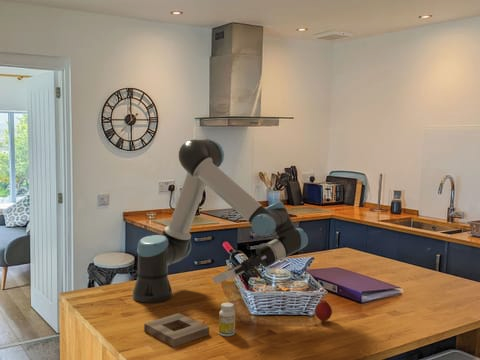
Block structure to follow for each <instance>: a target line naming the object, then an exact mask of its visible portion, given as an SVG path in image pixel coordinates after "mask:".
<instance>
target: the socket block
mask: <svg viewBox="0 0 480 360" xmlns="http://www.w3.org/2000/svg"><path fill="white" fill-rule="evenodd" d="M143 324H144V325H143V326H144V327H143V331H144V332H145V333H147V334H149V335H151V336H153V337H154V338H157V339H159V340H160V341H162V342H164V343H166V344H168V345H170V346H171V347H174V348H175V347H178V346H182V345H184V344H187V343H190V342H192V341H194V340H198V339H201V338H202V337H206V336H209V335H210V326H208V325H205V324H203V323H201V322H200V321H197V320H194V319H192V318H190V317H188V316H187V315H184V314H182V313H180V312H178V313H174V314H172V315H169V316H164V317H162V318H158V319H154V320H152V321H148V322H144V323H143ZM175 328H176V329H177V328H180V329H178V330H175V331H174V330H172V329H175Z"/></svg>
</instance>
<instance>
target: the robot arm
mask: <svg viewBox="0 0 480 360" xmlns="http://www.w3.org/2000/svg"><path fill="white" fill-rule="evenodd" d="M224 152H225V151H224V150H223V147H222V146H221V144H220V143H218V141H215V140H212V139H209V138H207V139H206V138H205V139H189V140H187V141H185V142H184V143H182V145H181V147H180V148H179V151H178V161H179V163H180V165H181V167H182V168H183V169H184V171H186V175H185V178H184V181H183V185H182V187H181V190H180V193H179V196H178V199H177V202H176V205H175V208H174V211H173V213H172V216H171V219H170V222H169V224H168V225H166V226H165V227H164V228H163V231H162V234H151V235H146V236H144V237H142V238H140V239H139V241H138V242H137V249H136V252H137V279H136V281H135V284H134V288H133V290H132V299H133V300H134V301H136V302H139V303H147V304H148V303H149V304H154V303H161V302H165V301H168V300H170V299H171V298H172V296H173V290H172V286H171V283H170V280H169V277H168V272H169V270H168V269H169V268H168V267H169V266H170V265H172V264H175V263H178V262H180V261H183V260H184V259H185V258H187V257H188V256H189V255H190V253H191V250H192V242H191V238H192V234H191V233H190V230H191V227H192V224H193V221H194V219H195V216H196V212H197V210H198V208H199V205H200V202H201V200H202V196H203V194H204V191H205V188H206V186H207V187H208V188H209V189H210V190H212V191H213V192H214V193H215V194H216V195H218V197H220V198H221V199H222V200H223V201H224V202H225V203H226V204H227V205H229V206H230V208H232V209H233V210H235V212H237V213H238V214H239V215H240V216H241V217H242V218H243V219H244V220H245V221H247V222H248V223H249V224H250V226H251V229H252V231H253V233H254V234H255V235H256V236H259V237H266V236H269V235H272V234H275V235H276V238H274V239H272V240H271V241H268V242H267V243H265V244H263V245H261V246H259V247H257V248H256V249H255V254H254V255H252V256H249V257H248V258H247V259H245V260H243V261H241V262H240V263H239V264H236V265H235V266H233V267H231V268H228V269H226V270H225V271H222V272H221V273H218V274H217V275H214V276H213V277H212V281H213V283H214V285H218V284H219V283H221V282H224V281H230V280H231V279H232V280H233V278H236V277H237V276H240V275H241V274H243V273H245V272H247V271H249V270H250V271H251V270H252V269H253V268H257V267H259V266H263V268H264V267H265V268H267V267H270V266H272V265H274V264H275V263H277V262H283V261H284V259H285V258H286V257H289V256H291V255H293V254H295V253H297V252H299V251H300V250H302V249H304V248H305V247H306V246H308V243H309V238H308V235H307V233H306V232H305V231H304V229H303V228H301V227H297V228H296V226H295V224H294V222H293V220H292V219H291V216H290V214H289V212H288V209H287V207H286V206H285V205H284V203H283V202H282V201H277V202H275V203H273V204H271V205H269V206H267V207H265V206H263V205H262V204H261V203H260V202H259V201H257V199H255V198H254V197H253V196H251V194H249V192H247V191H246V190H245V189H244V188H243V187H241V186H240V185H239V184H238V183H237V182H235V181H234V180H233V179H232V178H231V177H230V176H228V174H226V173H225V172H224V171H223V170H221V168H219V167H220V166H222V164H223V162H224V159H225V153H224Z"/></svg>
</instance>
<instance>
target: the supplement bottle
mask: <svg viewBox="0 0 480 360" xmlns="http://www.w3.org/2000/svg"><path fill="white" fill-rule="evenodd" d="M220 307H221V308H220V309H221V310H220V311H219V313H218V334H219V335H220V336H222V337H223V336H224V337H231V336H234V335H235V333H236V311H235V310H234V309H235V306H234V303H232V302H223V303H221V306H220Z"/></svg>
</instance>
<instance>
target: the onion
mask: <svg viewBox="0 0 480 360" xmlns="http://www.w3.org/2000/svg"><path fill="white" fill-rule="evenodd" d="M314 314H315V317H317V319H319V321H320V322H321V323H324V322H326V321H328V320H329V319H330V318H331V316H332V314H333V309H332V307H331V305H330V303H329V302H327V301H326V299H321V301H320V302H318V303H317V304H316V306H315V309H314Z"/></svg>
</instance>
